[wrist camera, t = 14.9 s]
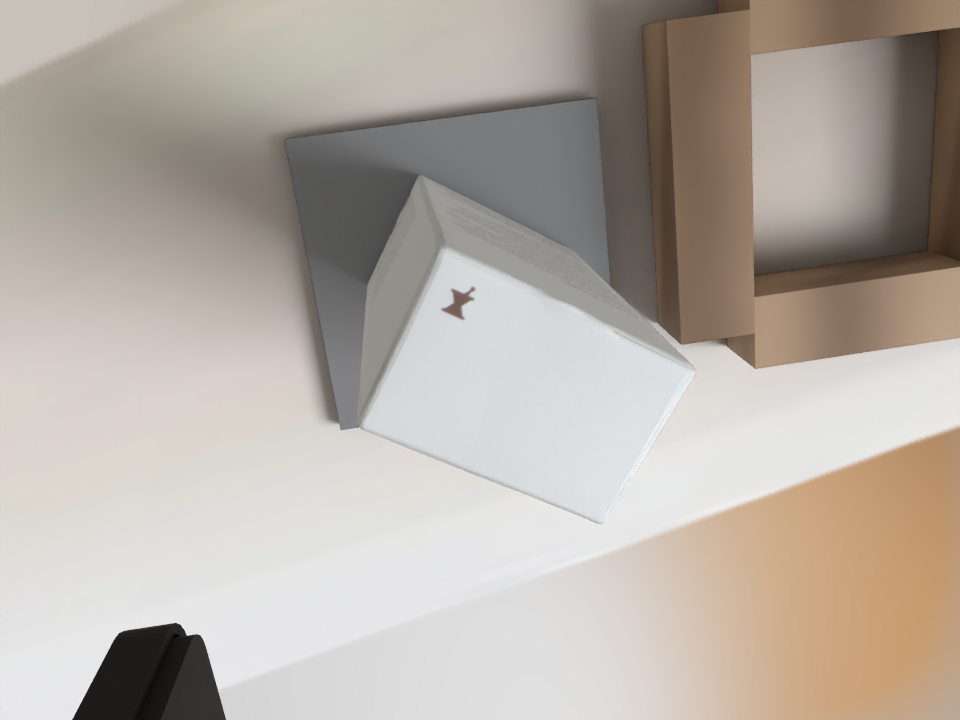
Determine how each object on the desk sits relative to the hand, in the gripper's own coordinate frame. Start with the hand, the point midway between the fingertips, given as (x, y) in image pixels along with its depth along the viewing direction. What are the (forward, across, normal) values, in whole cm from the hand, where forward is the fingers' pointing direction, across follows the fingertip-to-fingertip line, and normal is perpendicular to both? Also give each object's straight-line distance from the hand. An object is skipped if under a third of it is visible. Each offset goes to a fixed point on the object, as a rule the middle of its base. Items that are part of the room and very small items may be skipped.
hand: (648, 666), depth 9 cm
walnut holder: (+21, -12, -2) cm, 24 cm away
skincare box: (+20, 0, 0) cm, 20 cm away
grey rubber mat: (+21, +1, 0) cm, 21 cm away
